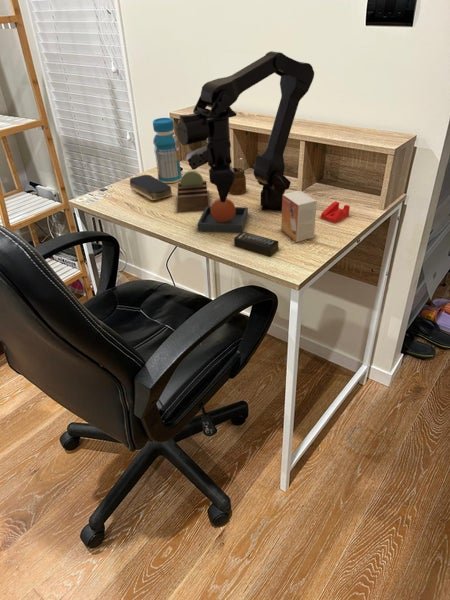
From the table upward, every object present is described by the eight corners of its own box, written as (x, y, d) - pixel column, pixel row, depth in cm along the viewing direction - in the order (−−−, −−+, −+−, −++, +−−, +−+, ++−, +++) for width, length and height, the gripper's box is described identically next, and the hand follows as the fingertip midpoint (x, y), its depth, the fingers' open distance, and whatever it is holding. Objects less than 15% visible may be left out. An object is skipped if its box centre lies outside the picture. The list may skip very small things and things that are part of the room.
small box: (280, 230, 123) (281, 193, 117) (298, 225, 125) (300, 189, 119) (296, 242, 117) (297, 205, 111) (314, 237, 119) (317, 200, 113)
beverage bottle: (167, 186, 154) (159, 125, 142) (153, 180, 159) (144, 120, 147) (187, 179, 158) (181, 119, 146) (172, 173, 163) (165, 115, 152)
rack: (208, 194, 146) (207, 180, 144) (210, 210, 136) (209, 195, 133) (178, 196, 146) (176, 182, 143) (177, 212, 136) (175, 198, 133)
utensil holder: (240, 196, 144) (239, 158, 137) (223, 192, 146) (221, 155, 139) (249, 189, 148) (248, 152, 140) (232, 186, 150) (231, 150, 143)
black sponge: (128, 189, 153) (126, 179, 151) (150, 182, 157) (148, 172, 155) (153, 204, 142) (151, 193, 140) (175, 196, 146) (174, 185, 144)
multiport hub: (270, 256, 112) (270, 248, 111) (233, 245, 118) (233, 238, 116) (279, 249, 115) (279, 241, 114) (243, 238, 121) (242, 231, 119)
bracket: (334, 210, 131) (335, 201, 130) (348, 215, 128) (349, 205, 127) (320, 218, 128) (321, 208, 126) (334, 223, 125) (335, 213, 123)
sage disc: (203, 191, 143) (202, 169, 139) (204, 192, 142) (202, 171, 138) (181, 193, 143) (179, 171, 139) (181, 194, 142) (179, 172, 138)
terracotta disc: (235, 219, 129) (234, 196, 125) (236, 221, 128) (235, 198, 124) (211, 221, 129) (209, 198, 125) (211, 223, 128) (209, 200, 124)
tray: (248, 214, 132) (247, 207, 131) (242, 233, 123) (242, 225, 122) (206, 213, 134) (206, 206, 133) (198, 231, 125) (197, 223, 124)
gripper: (186, 129, 122) (192, 184, 131) (186, 150, 107) (192, 211, 116) (228, 126, 122) (230, 181, 131) (233, 147, 107) (235, 208, 116)
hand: (221, 195), depth 124 cm, fingers open, 9 cm apart
